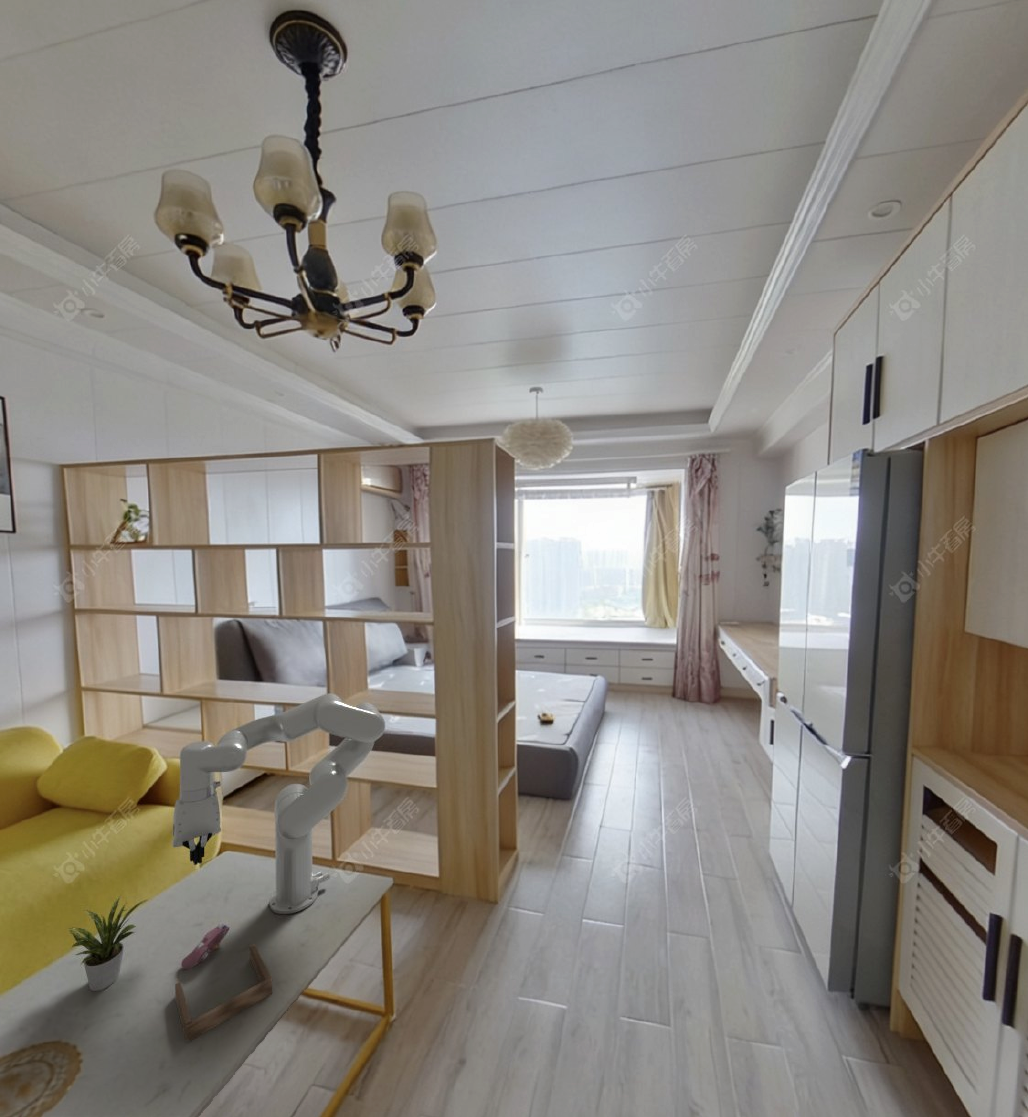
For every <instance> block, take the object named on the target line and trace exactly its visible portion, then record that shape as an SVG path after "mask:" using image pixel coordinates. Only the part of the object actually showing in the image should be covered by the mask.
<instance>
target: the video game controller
mask: <svg viewBox="0 0 1028 1117" xmlns="http://www.w3.org/2000/svg"><path fill="white" fill-rule="evenodd" d="M229 931H230V927H229V926H228V925H226V924H222V923H219V925H217V926H216V927H215V928H213V929H211V930H210V931H208V932H207V933H205V935H204V936H203V938H202V940H201V941H200V942H199V943H198V944H197V945H196V946H195V947H194V949H193V950H192V951H191V952H190V953H189V954H188V955H187V956H185V957H184V958H183V959H182V960H181V964H180V965H181V968H182V969H185V970H187V969H191V968H193V967H194V966H196V964H198V963H203V962H204V961H205V960H206V958H208V957H209V954H210V952H211V953H212V952H214V951H215V950H217V949H218V948H219V945H220V943H221V942H222V941H223V940H224V938H225V937H226V935H227V934H228V933H229Z"/></svg>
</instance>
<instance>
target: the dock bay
mask: <svg viewBox="0 0 1028 1117" xmlns="http://www.w3.org/2000/svg"><path fill="white" fill-rule="evenodd" d="M249 960H250V962H251V963H252V966H253V968H254V970H255V972H256V974H257V977H258V979H259V981H260V982H259V983H258V984H256V985H254V986H252V987H250V988H249V989H246V990H245V991H243V992H241V993H239V994H238V995H236V996H234V997H232V998H231V999H229V1000H226V1001H225V1002H223V1003H221V1004H219V1005H218V1006H216V1007H214V1008H213V1009H210V1010H209V1011H207V1012H206V1013H203V1014H202V1015H200V1016H198V1017H197V1018H195V1019H191V1015H190V1010H189V1008H188V1004H187V1000H186V997H185V993H184V990H183V984H182V981H178V982H176V983H175V984H174V993H175V994H174V995H175V996H174V997H175V998H174V1000H175V1002H176V1006H177V1010H178V1014H179V1019H180V1022H181V1025H182V1026H181V1027H182V1029H183V1034H184V1036H185V1041H186V1043H189V1042H190V1041H192V1040H194V1039H195V1038H197V1037H200V1036H201V1035H202V1034H205V1033H206V1032H208V1031H209V1030H212V1029H213V1028H215V1027H217V1026H218V1025H220V1024H221V1023H224V1022H225V1021H227V1020H229V1019H230V1018H232V1017H235V1016H236V1015H237V1014H239V1013H241V1012H242V1011H244V1010H246V1009H248V1008H250V1007H251V1006H253V1005H255V1004H256V1003H258V1002H259V1001H261V1000H263V999H265V998H266V997H268V996H270V995H272V994H273V979H272V977H271V975H270V973H269V971H268V968H267V967H266V964H265V963H264V961H263V958H262V957H261V954H260V952H259V950H258V948H257V947H256V945H255V944H252V945H250V946H249Z"/></svg>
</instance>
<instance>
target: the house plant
mask: <svg viewBox="0 0 1028 1117" xmlns="http://www.w3.org/2000/svg"><path fill="white" fill-rule="evenodd" d="M121 896H122V894H120V895H119V896H118V897H117V898H116V899H115V901H114V903H113V905H112V906H111V909H110V911H109V914H108V918H107V922H106V918H105V916H104V915H102V914H100V916H99V914H97V913H95V912H93V911H90V910H88V909H87V910H86V909H84V910H83V911H84V912H85V913H86V914H88V915H89V916H87V915H86V916H85V917H87V918H90V919H91V920H93V922H94V924H95V927H96V930H97V933H98V935H99V938H100V940H98V939H97V938H96V937H95V936H94V935H93V934H92V932H89V931H88V930H87V929H85V928H81V927H76V926H75V927H74V926H72V927H67V929H69V930H68V931H69V932H70V934H71V935H72V936H73V938H74V940H75V943H73V944H72V946H71V947H70V949H71V948H74V947H79V946H82V947H84V948H86V949H87V950H84V951H80V952H78V953H76V954H75V956H79V955H86V957H84V958H83V959H82V962H81V963H80V965H82V964H83V965H84V970H85V974H86V978H87V982H88V986H89V989H90V990H91V991H93V992H94V991H95V992H96V991H100V990H104V989H106V988H108V987H109V986H111V985H113V983H115V982H116V981H118V979H119V976H120V971H121V965H122V961H123V954H124V951H125V944H124V943H123V942H122V941H123V940H125V939H126V938H128V937H129V936H130V935H132V934H134V933H136V932H134V931H131V930H132V929H134V928H137V926H136V925H135V924H128V925H127V926H126V927H124V926H125V924H126V923H127V922H128V921H129V920H130V919H131V917H130V918H128V917H129V916H130V915H131V913H132V912H133V911H135V910H136V908H138V907H139V906H140V905H141V904H143V903H145V902H147V901H148V899H146V900H143V901H141V902H138V903H137V904H135V905H134V906H132V907H131V908H130V909H129V910H128V909H125V908H126V906H127V904H128V902H127V901H126V902H125V903H124V904H123V905H122V907H121V908H120V910H119V912H118V914H117V915H116V917H115V914H116V911H117V909H118V906H119V902H120V899H121ZM125 911H128V912H126V914H125V915H124V916H123V918H122V920H121V917H122V914H123V912H125ZM101 917H102V919H101ZM114 918H115V919H114ZM127 918H128V919H127ZM120 920H121V921H120ZM123 927H124V928H123ZM121 929H122V930H121ZM120 930H121V931H120ZM79 933H80V934H79ZM100 941H101V942H100Z"/></svg>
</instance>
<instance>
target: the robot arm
mask: <svg viewBox="0 0 1028 1117" xmlns="http://www.w3.org/2000/svg"><path fill="white" fill-rule="evenodd" d="M385 722H386V721H385V719H384V717H383V715H382V714H381V713H380V711H379V709H377V708H376V706H375V705H374V704H372V703H371V702H367V701H365V702H360V703H358V704H357V705H356V706H351V705H348V704H346V703H344V702H343V700H342V698H341V697H340V696H338V695H337V694H335V693H330V692H329V693H325V694H322V695H320V696H317V697H315V698H312V699H310V700H308V701H306V702H303V703H302V704H299V705H296V706H295V707H292V708H290V709H288V710H285V711H283V712H281V713H278V714H273V715H269V716H266V717H261V718H257V719H255V720H254V719H253V720H251V721H249V722H247V723H244V724H242V725H240V726H237V727H235V728H233V729H231V730H229V731H227V732H226V733H225V734H223V735H222V736H221V737H220V738H219V740H218V741H217V743H216V745H214V743H212V742H210V741H204V740H203V741H202V740H201V741H195V742H191V743H189V744H187V745H185V746H183V747H182V748H181V749H180V750H181V751H180V755H179V798H178V799H176V800H175V804H174V810H173V817H172V818H173V819H172V836H173V839H172V843H171V845H172V847H173V848H179V847H185V849H186V848H187V849H188V850H189V862H192V863H193V865H194V866H196V865H197V866H198V864H202V863H203V858H204V857H205V847H206V845H207V843H208V842H209V840H211V838H212V837H213V836H215V835H217V834H220V832H221V831H222V829H221V828H222V827H221V811H220V810H221V808H220V800H219V796H218V792H217V790H216V788H218V787H221V784H222V783H221V781H220V780H219V781H218V780H217V781H216V780H215V773H229V772H230V773H231V772H234V771H238V769H240V768H241V767H242V766H243V765H244V764H245V763H246V760H247V757H248V751H250V750H253V749H254V748H256V747H259V746H260V745H263V744H266V743H271V742H283V743H292V742H294V741H296V740H299V739H301V738H303V737H305V736H307V735H309V734H311V733H313V732H315V731H318V730H321V731H323V732H325V733H329V734H331V735H334V736H337V737H340V738H344V739H343V740H342V741H341V742H340V743H339V744H338V745H337V746H336V747H335V748H334V749H332V751H330V752H329V753H328V754H326V756H324V757H323V758H321V760H320V761H319V762H317V763H316V764H315V765H314V766H313V767H312V769H311V770H310V772H309V776H308V781H309V787H306V786H305V785H303V784H300V783H291V784H288V785H287V786H285V787H284V788H283V789H281V790H280V792H279V793H278V795H277V796H276V799H275V802H274V828H275V829H274V831H275V833H274V834H275V838H274V839H275V840H274V841H275V848H274V849H275V851H274V852H275V855H274V856H275V891H274V892H273V893H272V895H271V896H270V898H269V909H270V910H271V911H272V912H273V913H275V914H279V915H290V914H295V913H297V912H300V911H302V910H304V909H306V908H308V907H309V906H311V904H313V903H314V902H315V901H316V899H317V898H318V896H319V886H320V884H322V883H325V882H327V881H328V880H330V879H331V876H330V873H329V872H325V873H322V871H321V870H320V871H318V872H316V873H314V874H313V829H314V828H315V827H316V826H317V825H318V824H319V823H321V821H323V820H324V818H325V817H327V816H328V815H329V814H330V813H331V812H332V811H334V809H335V808H336V807H338V805H340V803H341V802H342V801H343V799H345V796H346V795H347V791H348V788H349V780H348V776H349V775H350V774H351V773H353V772H354V770H356V769H357V768H358V767H359V766H360V765H361V764H362V763H363V762H364V761H365V759H366V758H367V757H368V756H369V754H370V753H371V751H372V749H373V747H374V744H375V741H377V740H378V739H380V738H381V737H382V736H383V734H384V733H385V729H386V723H385ZM196 838H198V842H197V844H196V842H195V839H196Z"/></svg>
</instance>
